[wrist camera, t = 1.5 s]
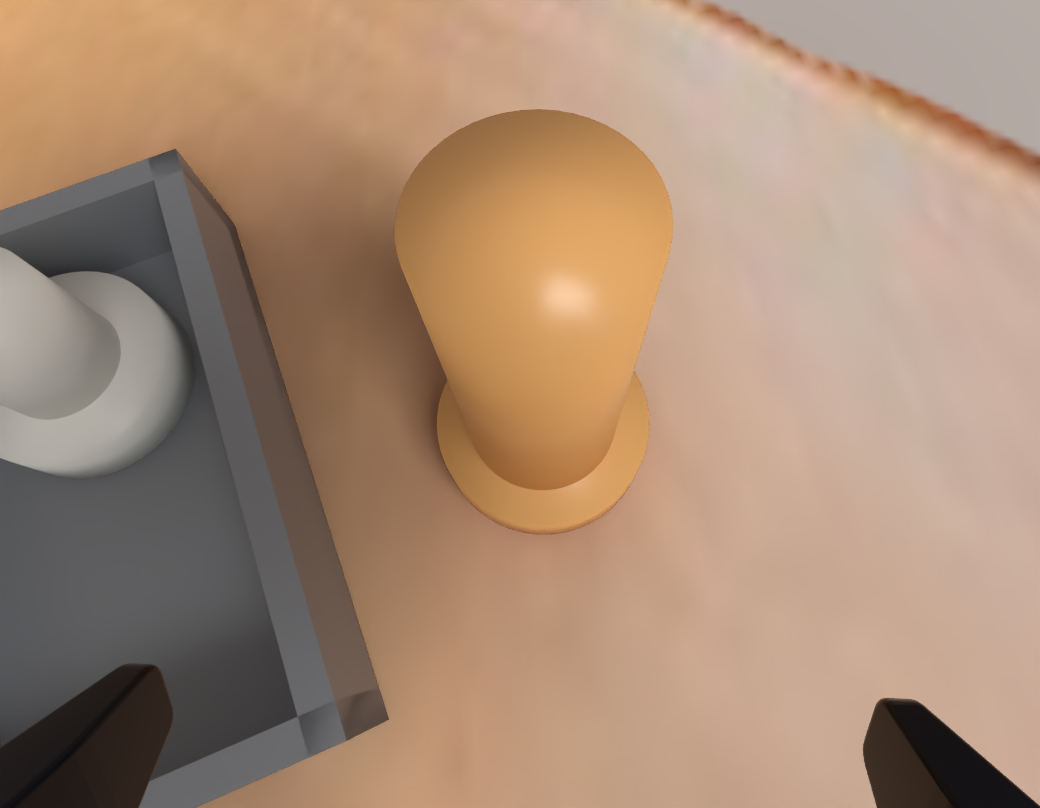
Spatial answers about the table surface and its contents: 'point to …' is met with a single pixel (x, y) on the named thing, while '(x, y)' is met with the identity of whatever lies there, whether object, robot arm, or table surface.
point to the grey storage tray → (163, 488)
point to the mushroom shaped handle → (537, 309)
